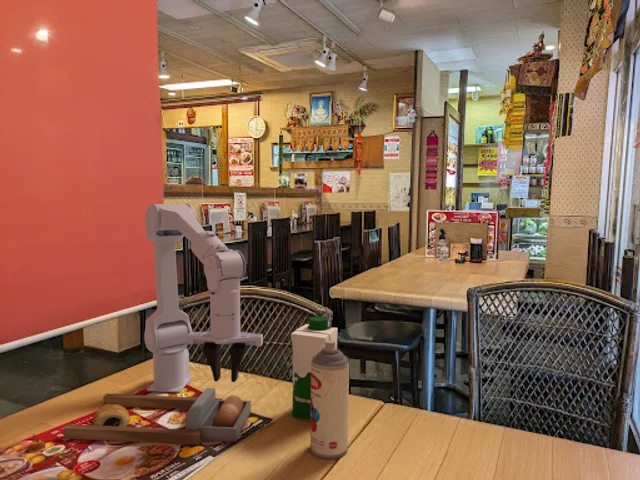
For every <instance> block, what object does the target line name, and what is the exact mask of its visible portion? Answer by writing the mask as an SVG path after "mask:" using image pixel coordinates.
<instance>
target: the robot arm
mask: <svg viewBox="0 0 640 480" xmlns="http://www.w3.org/2000/svg"><path fill="white" fill-rule="evenodd" d="M196 212H197V211H196V208H194V207H193V205H192V204H191V203H183V204H182V203H162V204H161V203H150V204H149V205H148V207H147V209H146V211H145V215H144V221H145V234H146V239H148V240H150V241H152V247H153V264H154V278H155V279H154V280H155V296H156V310H155V311H154V312H153V313H152V314H151V315H150V316H149V317H147V319H145V329H144V334H143V335H144V344H145V346H146V349H148V351H149V352H150V353H152V364H153V365H152V368H153V369H152V370H153V371H152V372H153V373H152V374H153V383H152V384H150V386H149V387H147V388H146V391H147V392H158V393H159V392H161V393H162V392H163V393H180V392H182V390H183V389H184V388H185V387H186V386H187V385H188V383H190V381H192V379H193V378H194V375H190V353H189V350H188V345H194V344H203V348H202V353H203V356H204V357H205V358H206V361H207V362H208V364H209V366H210V370H211V372H212V377H213V382H219V380H220V379H221V375H222V372H221V371H222V369H221V352H222V345H232V347H230V349H229V354H230V361H231V362H230V363H231V364H230V365H231V369H230V370H231V373H230V374H231V376H230V381H231V383H235V382H236V381H237V380H238V376H239V369H240V366H241V362H242V360H243V357H244V355H245V352H246V350H247V348H248V346H255V347H256V348H257V347H258V348H259V347H262V346H263V344H264V343H263V342H264V336H263V334H264V333H253V332H245V331H241V279H243V278H244V277H245V275H246V272H247V262H246V259H245V257H244V254H243V253H242V252H241V250H240V249H239V250H238V249H233V248H231V249H229V248H228V246H226V244H225V243H223V241H221V239H220V238H219V237H218V236H217V235H216V233H215V232H214V231H212V230H211V231H210V230H205V229H204V228H203V226H201V224H200V223H199V221H198V220H197V213H196ZM184 237H185V238H187V240H188V241H190V249H191V251H192V253H193V254H194V255H195V256H196V258H197V259H198V260H199V261H200V262H201V263H202V265H203V272H204V275H205V278H206V286H207V290H208V291H209V294H210V295H209V297H210V298H209V299H210V301H209V303H210V304H209V305H210V309H209V311H210V312H209V313H210V331H193V330H192V326H191V325H192V324H191V323H190V317H189V315H188V314H187V313H186V312H184V311H183V310H181V309H180V306H179V305H180V303H179V290H178V288H179V287H178V273H177V272H178V271H177V270H178V269H177V257H176V256H177V255H176V243H177V242H178V241H179V240H180V239H182V238H184Z"/></svg>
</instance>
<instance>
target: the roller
mask: <svg viewBox="0 0 640 480" xmlns="http://www.w3.org/2000/svg"><path fill="white" fill-rule="evenodd" d="M224 400H225V401H224V403H223V404H222V406H221V408H220V409H219V411H218V412H217V414H216V415H215V417H214V419H213V426H215V427H233V426H234V424H235V422H236V420H237V418H238V416H239V414H240V413H241V411H242V409H243V402H242V401H243V400H242V398H240V397H239V396H238V395H229V396H227V397H226V399H224Z"/></svg>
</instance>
